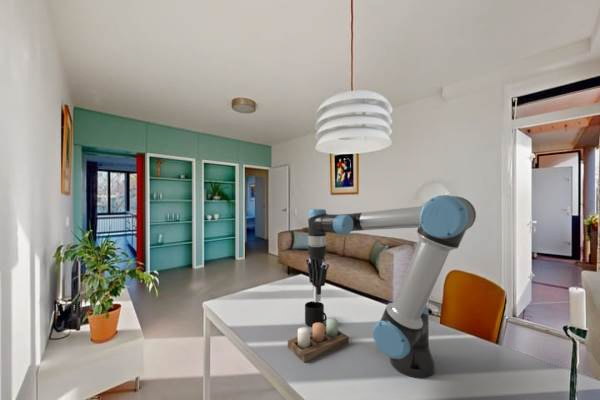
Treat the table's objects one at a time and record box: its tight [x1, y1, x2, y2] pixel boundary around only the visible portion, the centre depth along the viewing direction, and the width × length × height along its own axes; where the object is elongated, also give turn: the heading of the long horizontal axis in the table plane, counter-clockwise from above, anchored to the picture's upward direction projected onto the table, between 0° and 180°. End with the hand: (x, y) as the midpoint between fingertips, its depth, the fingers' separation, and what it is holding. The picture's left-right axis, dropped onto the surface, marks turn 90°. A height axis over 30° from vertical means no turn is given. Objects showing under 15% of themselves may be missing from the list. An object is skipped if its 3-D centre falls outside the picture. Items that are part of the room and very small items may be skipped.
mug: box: [304, 300, 328, 328], centre depth 126 cm, size 9×12×9 cm
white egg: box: [297, 326, 311, 350], centre depth 102 cm, size 5×5×6 cm
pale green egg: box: [325, 317, 339, 338], centre depth 111 cm, size 5×5×6 cm
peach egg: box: [312, 323, 325, 344], centre depth 106 cm, size 5×5×6 cm
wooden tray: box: [287, 326, 350, 364], centre depth 106 cm, size 12×23×3 cm, turn 123°
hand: (317, 300), depth 107 cm, fingers closed
